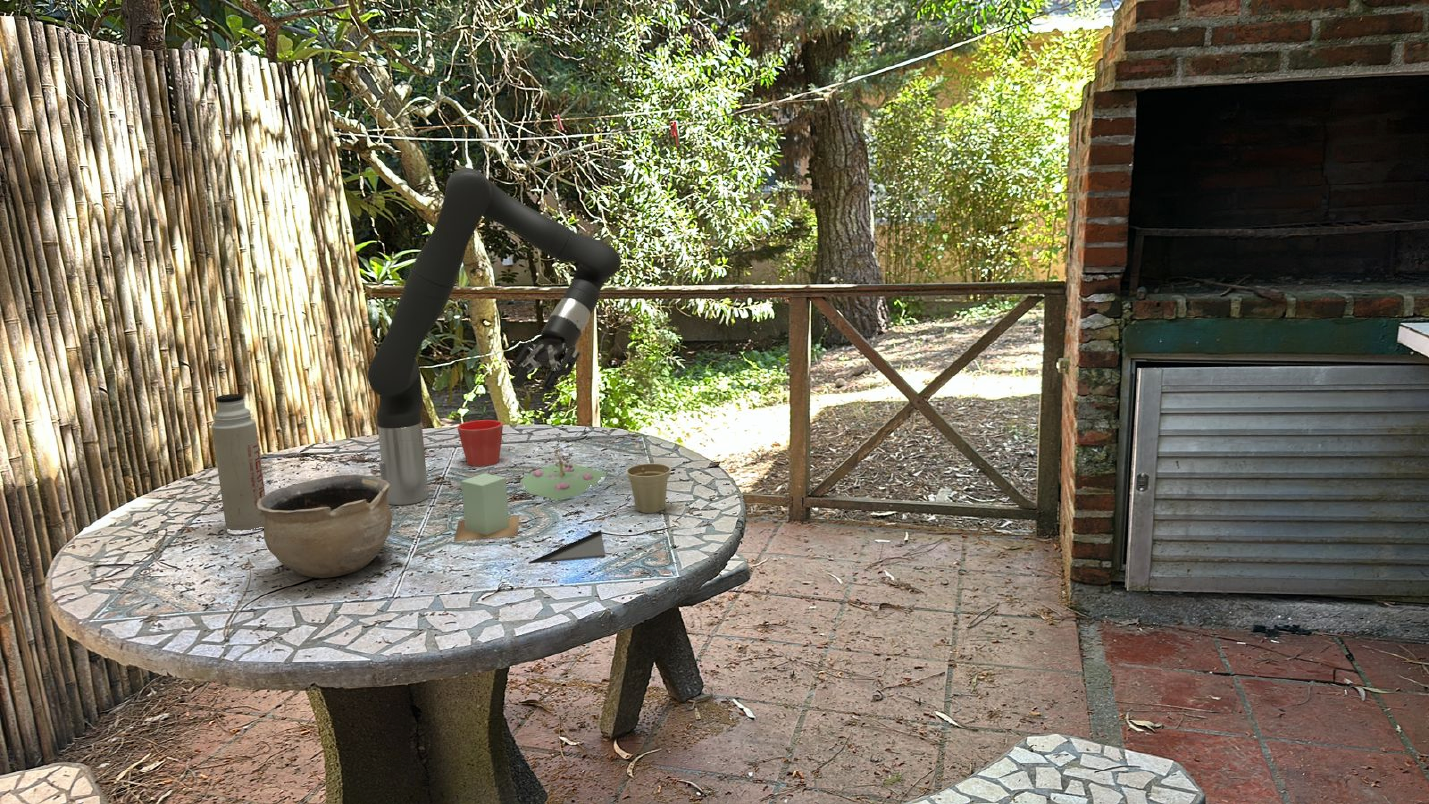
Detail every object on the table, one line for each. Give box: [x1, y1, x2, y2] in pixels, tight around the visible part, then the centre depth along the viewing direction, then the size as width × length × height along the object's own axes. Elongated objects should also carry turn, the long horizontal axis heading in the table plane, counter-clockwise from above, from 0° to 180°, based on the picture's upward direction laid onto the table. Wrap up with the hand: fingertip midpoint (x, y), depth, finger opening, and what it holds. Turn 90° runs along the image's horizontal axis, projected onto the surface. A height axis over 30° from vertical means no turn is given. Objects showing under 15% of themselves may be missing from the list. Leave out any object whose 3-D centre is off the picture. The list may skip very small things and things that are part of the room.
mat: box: [527, 529, 606, 564], centre depth 187 cm, size 14×14×1 cm
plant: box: [519, 443, 607, 501], centre depth 225 cm, size 25×21×9 cm
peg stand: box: [453, 515, 520, 542], centre depth 193 cm, size 12×12×8 cm
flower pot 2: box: [625, 462, 672, 514], centre depth 206 cm, size 9×9×9 cm
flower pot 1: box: [457, 419, 504, 467], centre depth 244 cm, size 11×11×10 cm
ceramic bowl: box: [257, 474, 393, 579], centre depth 177 cm, size 22×22×15 cm
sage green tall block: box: [460, 473, 510, 535], centre depth 192 cm, size 6×6×10 cm
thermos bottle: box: [211, 393, 266, 530], centre depth 198 cm, size 8×8×28 cm
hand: (530, 387), depth 202 cm, fingers open, 8 cm apart
